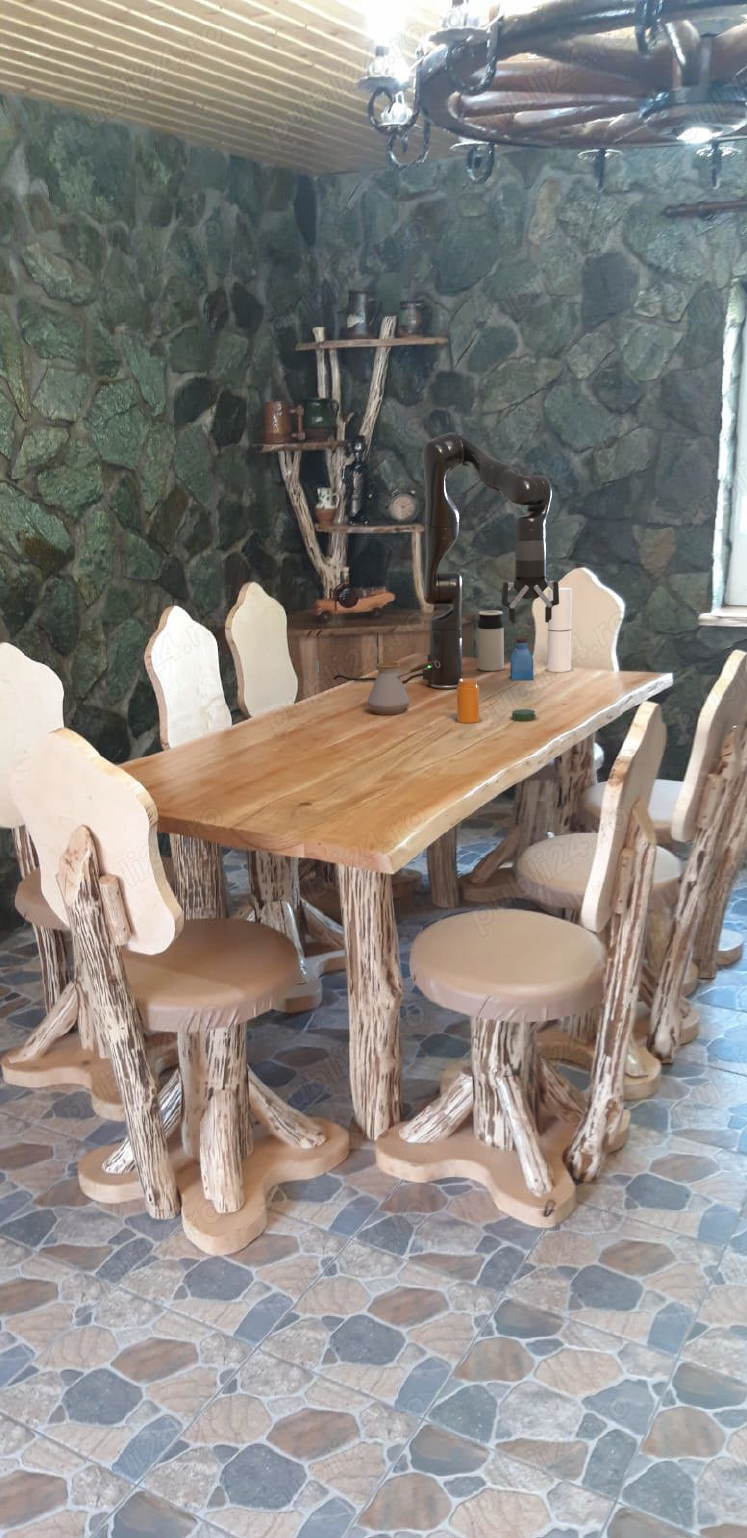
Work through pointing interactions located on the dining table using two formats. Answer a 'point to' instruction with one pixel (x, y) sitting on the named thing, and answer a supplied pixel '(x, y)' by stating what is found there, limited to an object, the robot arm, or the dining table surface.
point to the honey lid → (523, 715)
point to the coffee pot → (391, 689)
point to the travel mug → (490, 641)
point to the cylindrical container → (560, 632)
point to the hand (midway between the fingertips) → (530, 622)
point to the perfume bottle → (521, 661)
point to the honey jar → (467, 701)
